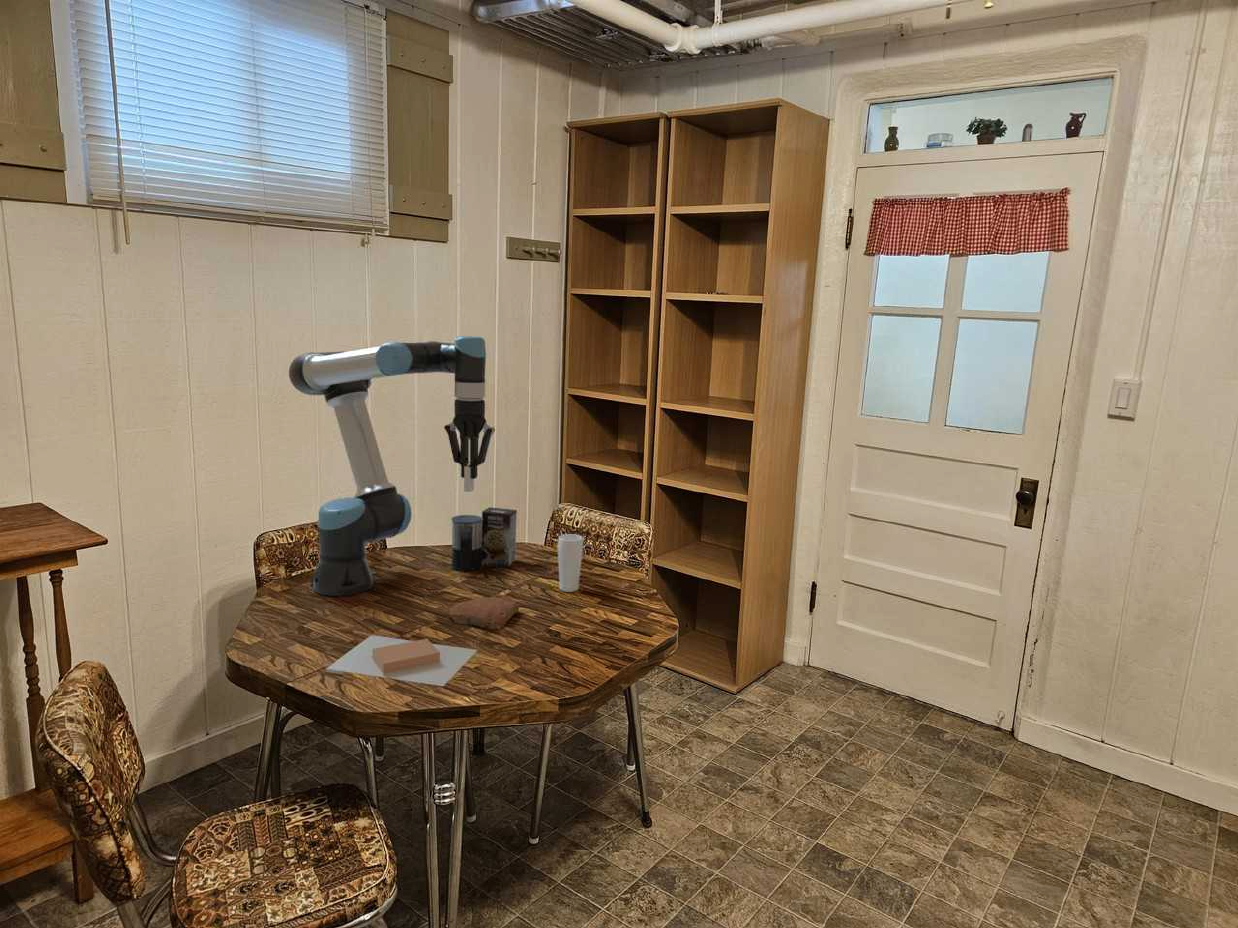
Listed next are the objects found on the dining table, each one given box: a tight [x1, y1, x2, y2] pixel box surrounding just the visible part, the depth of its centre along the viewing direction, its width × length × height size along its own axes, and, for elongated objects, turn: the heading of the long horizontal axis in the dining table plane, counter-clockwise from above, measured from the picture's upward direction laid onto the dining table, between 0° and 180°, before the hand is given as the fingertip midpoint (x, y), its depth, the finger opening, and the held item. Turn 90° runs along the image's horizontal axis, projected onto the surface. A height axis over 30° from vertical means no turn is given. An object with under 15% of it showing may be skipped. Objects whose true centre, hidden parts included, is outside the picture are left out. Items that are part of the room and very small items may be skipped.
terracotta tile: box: [372, 638, 440, 675], centre depth 167 cm, size 2×8×12 cm
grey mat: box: [325, 634, 478, 687], centre depth 168 cm, size 26×18×1 cm
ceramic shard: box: [448, 597, 520, 631], centre depth 194 cm, size 15×6×15 cm
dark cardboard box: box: [481, 506, 518, 566], centre depth 237 cm, size 9×6×16 cm
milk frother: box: [450, 514, 510, 572], centre depth 230 cm, size 14×16×15 cm
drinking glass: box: [557, 533, 584, 593], centre depth 216 cm, size 7×7×15 cm
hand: (469, 490), depth 201 cm, fingers closed
